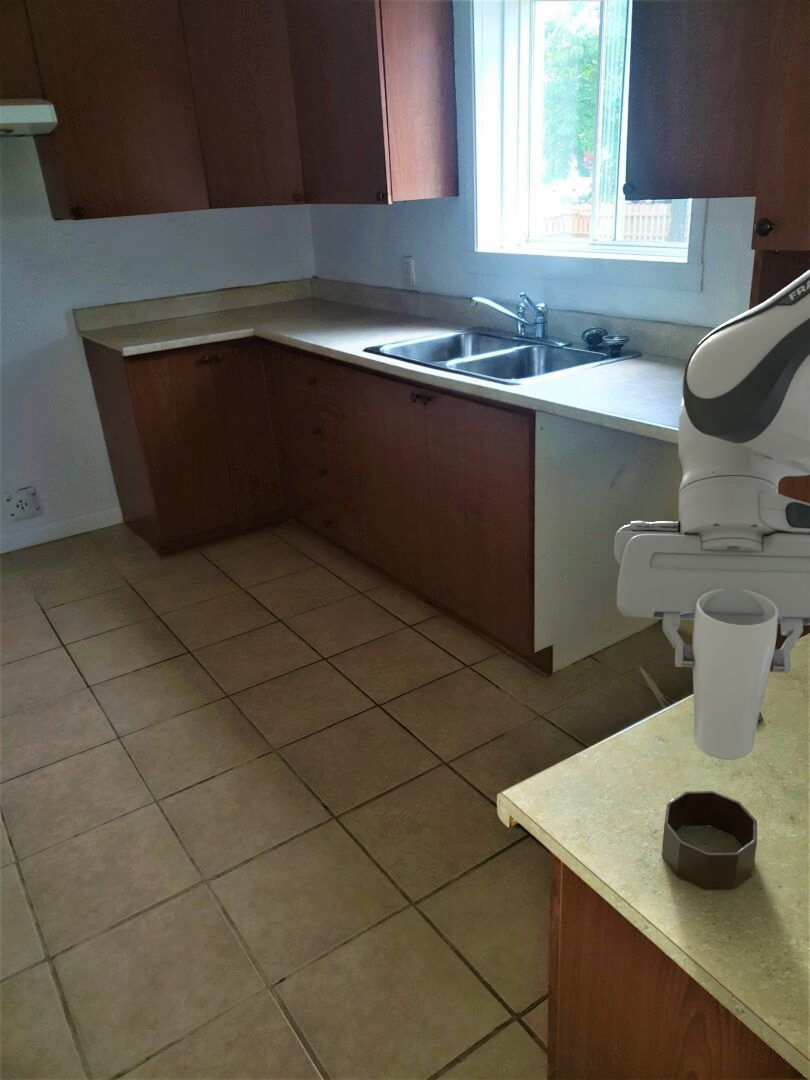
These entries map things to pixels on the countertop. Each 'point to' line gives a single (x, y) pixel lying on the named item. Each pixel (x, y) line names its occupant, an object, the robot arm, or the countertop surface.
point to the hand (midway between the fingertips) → (732, 668)
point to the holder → (697, 863)
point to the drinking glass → (730, 676)
